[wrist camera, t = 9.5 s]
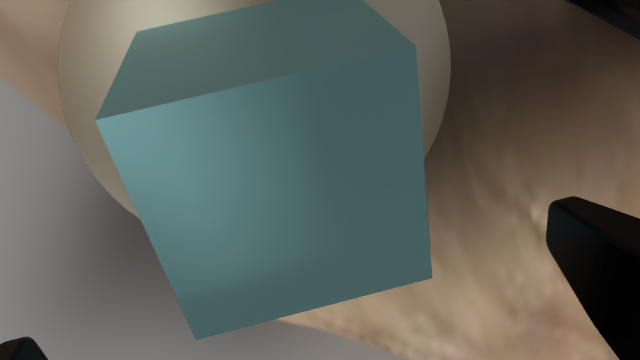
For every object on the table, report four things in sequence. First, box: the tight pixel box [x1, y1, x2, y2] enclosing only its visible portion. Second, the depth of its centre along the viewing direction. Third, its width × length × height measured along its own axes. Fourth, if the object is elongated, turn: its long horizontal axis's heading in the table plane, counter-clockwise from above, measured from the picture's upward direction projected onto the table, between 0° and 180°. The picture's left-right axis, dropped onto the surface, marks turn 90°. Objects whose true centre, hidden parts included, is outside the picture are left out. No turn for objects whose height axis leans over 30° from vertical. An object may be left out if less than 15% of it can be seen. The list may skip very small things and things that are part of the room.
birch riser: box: [58, 0, 451, 218], centre depth 18 cm, size 12×12×4 cm
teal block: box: [95, 0, 432, 340], centre depth 13 cm, size 6×6×6 cm
